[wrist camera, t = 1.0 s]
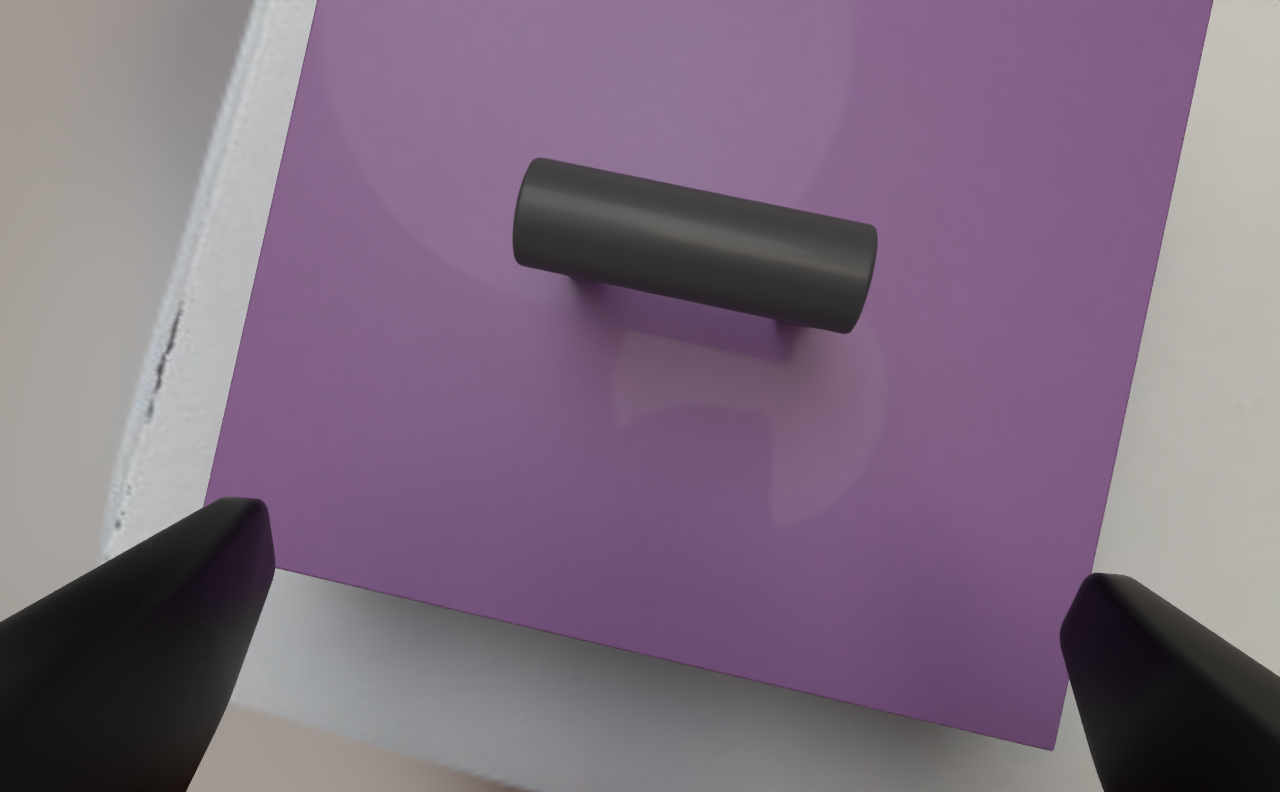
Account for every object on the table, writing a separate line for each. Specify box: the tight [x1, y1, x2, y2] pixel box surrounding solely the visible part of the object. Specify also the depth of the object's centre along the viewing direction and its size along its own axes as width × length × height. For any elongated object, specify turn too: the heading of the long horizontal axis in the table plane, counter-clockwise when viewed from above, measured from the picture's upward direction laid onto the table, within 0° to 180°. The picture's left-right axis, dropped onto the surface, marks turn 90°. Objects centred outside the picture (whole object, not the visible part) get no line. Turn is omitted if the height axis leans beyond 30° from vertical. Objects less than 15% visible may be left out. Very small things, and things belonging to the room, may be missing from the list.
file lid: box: [203, 0, 1213, 751], centre depth 14 cm, size 14×17×5 cm
